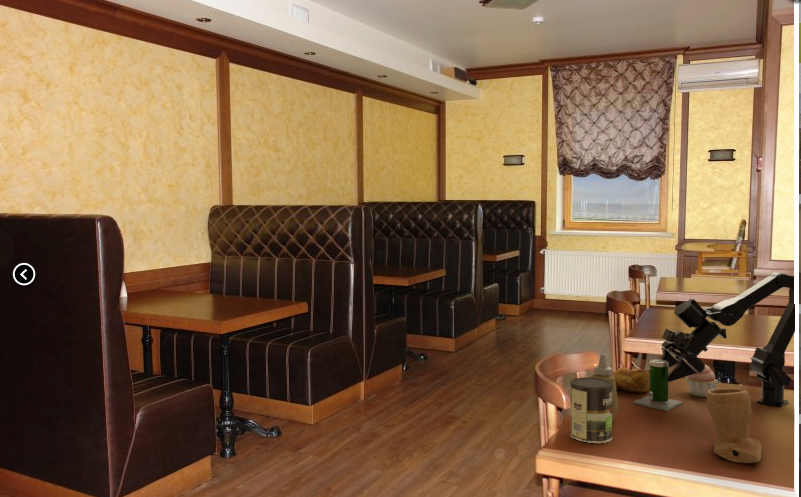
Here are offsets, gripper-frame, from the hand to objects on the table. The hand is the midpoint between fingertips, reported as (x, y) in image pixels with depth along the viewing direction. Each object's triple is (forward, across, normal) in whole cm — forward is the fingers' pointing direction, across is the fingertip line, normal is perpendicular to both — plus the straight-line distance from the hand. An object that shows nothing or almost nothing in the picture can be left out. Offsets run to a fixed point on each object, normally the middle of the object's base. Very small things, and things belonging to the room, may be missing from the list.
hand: (661, 376), depth 192 cm
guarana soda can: (+6, 0, +5) cm, 8 cm away
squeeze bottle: (+21, +14, -9) cm, 27 cm away
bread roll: (+9, -15, +3) cm, 18 cm away
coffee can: (+25, +27, -14) cm, 40 cm away
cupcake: (-5, -9, +17) cm, 20 cm away
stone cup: (+4, +38, +8) cm, 39 cm away
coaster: (+6, 0, +5) cm, 8 cm away
